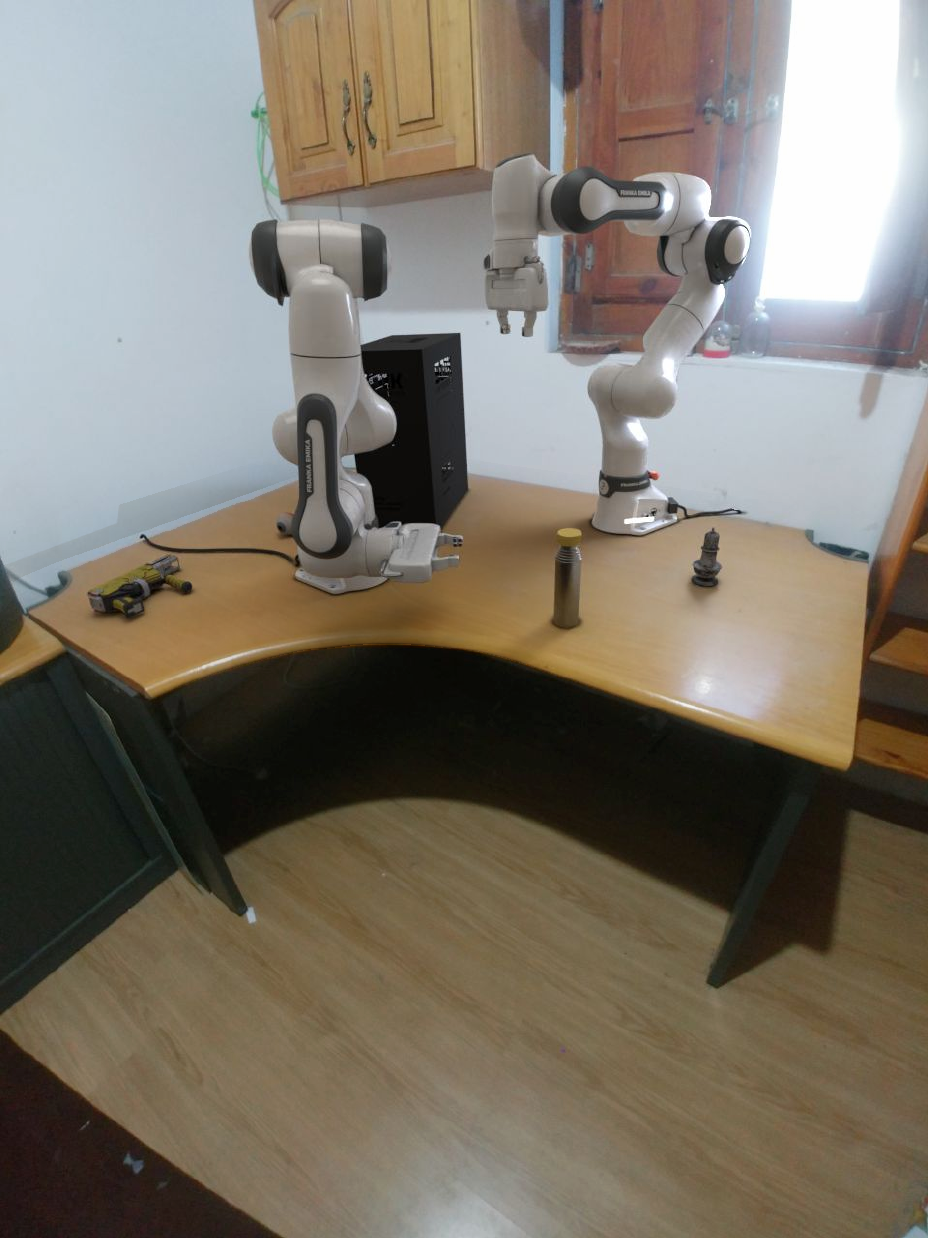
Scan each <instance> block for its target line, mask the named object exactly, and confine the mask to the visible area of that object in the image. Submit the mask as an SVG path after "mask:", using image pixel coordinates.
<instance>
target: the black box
mask: <svg viewBox="0 0 928 1238" xmlns="http://www.w3.org/2000/svg"><path fill="white" fill-rule="evenodd" d="M462 354H463V353H462V336H461V332H447V333H446V332H442V333H441V332H440V333H415V334H413V333H412V334H391V335H388V336H384V337H382V338H379V339H376V340H373V341H368V342H366V343H363V344H361V355H362V365H363V370H364V374H365V377H366V379H367V382H368V383H369V385H370V387H371V388H372V389H373V391H374V392H375V393H376V394H378V395H379V396H380V397H382V398H383V399H385V400H386V401H387V402H388V403H389V404H390V406H391V407H392V409H393V411H394V413H395V416H396V421H397V427H396V433H395V436H394V438H393V440H392V441H391V442H390V443H388V444H386V445H384V446H382V447H380V448H377V449H375V450H372V451H368V452H363V453H358V454H353V458H354V463H355V464H354V465H355V470H356V471H355V472H356V473H359V474H361V475H363V476H364V477H365V478H366V479H367V480H368V481H369V483H370V485H371V487H372V494H373V502H374V510H375V514H376V515H377V518H378V524H379V528H383V527H385V526H386V525H388V524H389V523H391V522H401V525H404V524H409V523H431V524H436V525H439V526H440V530H441V529H442V528H443V526H444V525H445V523H447V520H448V519H449V518H450V516H451V514H452V513H453V512H454V511H455V509H456V508H457V506H458V505H459V503H460V502H461V500H462V499H463V497H464V496H465V495H466V493H467V491H468V490H469V479H468V477H469V476H468V457H467V455H468V454H467V439H466V437H467V436H466V418H465V417H466V415H465V399H464V397H465V396H464V395H465V394H464V377H463V375H464V374H463V357H462V356H463V355H462ZM445 359H446V360H445ZM441 361H442V363H441ZM436 364H438V365H436Z"/></svg>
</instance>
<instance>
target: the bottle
mask: <svg viewBox="0 0 928 1238" xmlns="http://www.w3.org/2000/svg"><path fill="white" fill-rule="evenodd" d="M582 560H583V557H582V553H581V551H580V549H579V545H577V546H571V547H567V546H562V545H559V546H558V548H557V551H556V553H555V556H554V583H553V584H554V585H553V587H554V588H553V619H552V620H553V624H554V625H555V626H557V627H560V628H566V629H569V628H574V627H576V626H577V625H578V624H579V619H580V601H581V599H580V598H581V580H582V579H581V577H582Z"/></svg>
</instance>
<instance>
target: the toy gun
mask: <svg viewBox="0 0 928 1238" xmlns="http://www.w3.org/2000/svg"><path fill="white" fill-rule="evenodd" d="M175 562H176V563H177V566H176V565H173V563H175ZM180 569H181V566H180V561H179V557H178V556H177V555H176V554H172V555H171V553H167V554H166V555H164V556H161V557H159V558H157V559H155V560H153V561H151V562H148V563H147V562H146V563H145V564H142V565H140V566H138V567H136V568H134V569H132V570H130V571H127V572H126V573H123V574H122V575H119V576H117V577H115V578H113V579H111V580H108V581H107V582H104V583H103V584H100V585H98V586H96V587H94V588H92V589H90V590H88V591H87V592H86V593H87V597H88V601H89V605H90V608H91V609H92V610H94V612H95V613H99V614H101V613H112V612H116V611H121V612H123V613H124V616H125V617H124V618H125V619H127V620H129V619H131V618H134V617H135V616H138V615H140V614H143V613H145V607H144V602H143V599H145V598H147V597H149V596H150V595H151V591H154V590H156V589H159V588H162V587H163V586H164V585H165V584H166V585H167V586H170V587H172V588H174V589H177V590H179V591H182V592H183V593H186V594H187V593H189V592H191V591H192V590H193V584H192V582H190V581H188V580H184V579H181V578H179V577H178V576H174V575H173V573H174V572H176V571H177V570H180Z"/></svg>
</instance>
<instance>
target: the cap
mask: <svg viewBox="0 0 928 1238" xmlns="http://www.w3.org/2000/svg"><path fill="white" fill-rule="evenodd" d="M556 543H557V544H558V545H559V546H560V545H562V546H567V547H571V546H579V545H580V544H581V543H582V531H581V530H580V529H578V528H573V527H564V528H561V529H559V530H557V533H556Z"/></svg>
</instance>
